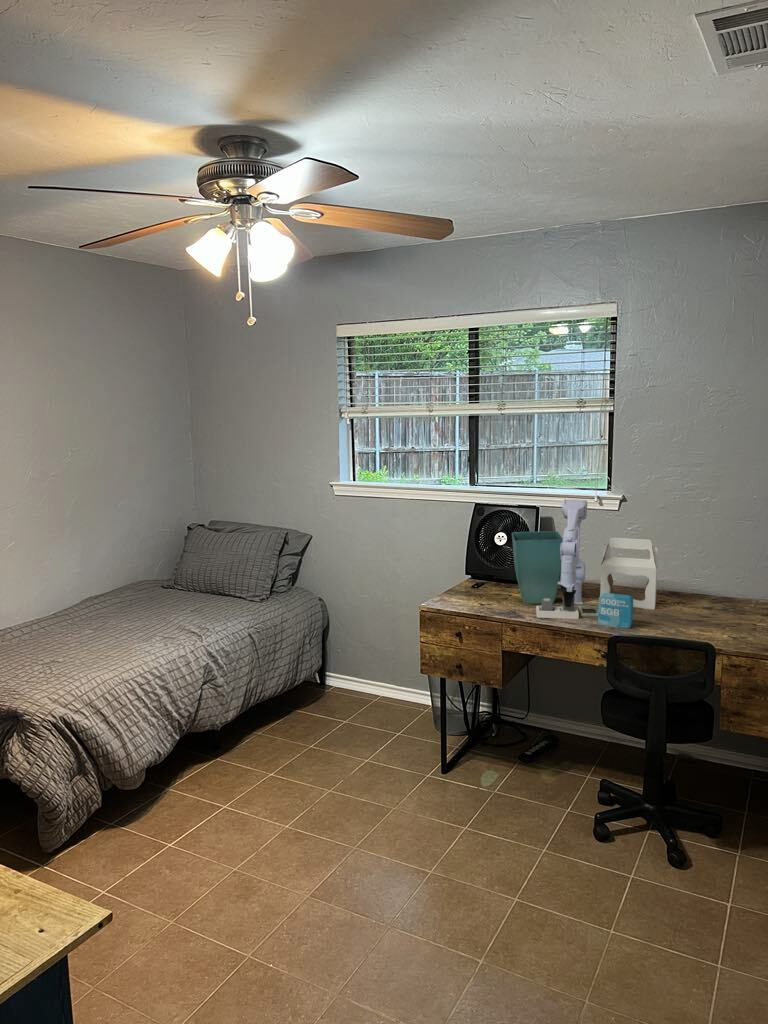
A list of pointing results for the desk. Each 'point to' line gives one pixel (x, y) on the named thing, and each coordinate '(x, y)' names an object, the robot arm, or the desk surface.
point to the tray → (588, 608)
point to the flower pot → (537, 564)
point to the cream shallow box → (557, 613)
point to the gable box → (631, 570)
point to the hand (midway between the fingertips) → (567, 605)
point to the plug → (569, 607)
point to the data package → (615, 610)
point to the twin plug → (546, 604)
